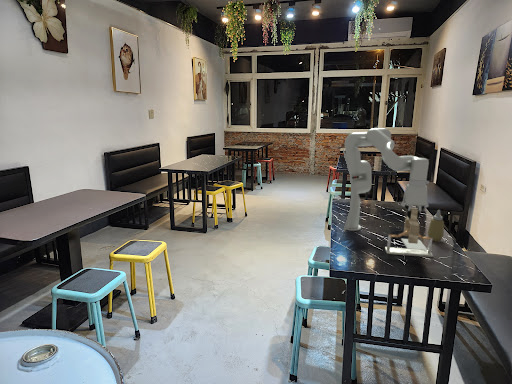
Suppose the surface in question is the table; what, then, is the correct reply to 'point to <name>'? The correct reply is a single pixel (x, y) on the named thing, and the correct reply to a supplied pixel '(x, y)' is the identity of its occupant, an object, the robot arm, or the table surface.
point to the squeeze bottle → (436, 227)
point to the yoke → (412, 226)
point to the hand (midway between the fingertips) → (412, 217)
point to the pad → (414, 245)
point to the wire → (409, 251)
